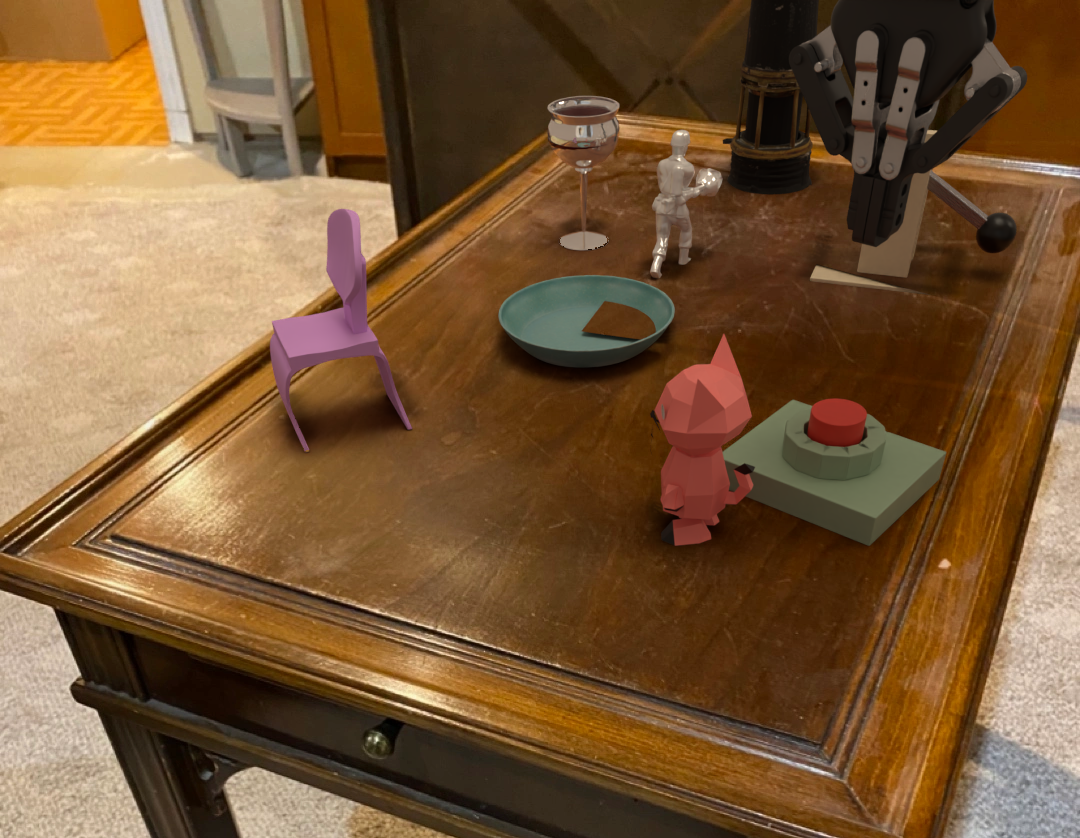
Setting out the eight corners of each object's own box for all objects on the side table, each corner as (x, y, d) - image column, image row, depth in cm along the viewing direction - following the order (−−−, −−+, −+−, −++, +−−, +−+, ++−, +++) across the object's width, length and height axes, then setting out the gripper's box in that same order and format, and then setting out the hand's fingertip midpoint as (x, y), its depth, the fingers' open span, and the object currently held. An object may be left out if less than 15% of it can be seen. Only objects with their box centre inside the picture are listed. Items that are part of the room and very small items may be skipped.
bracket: (955, 267, 98) (989, 127, 89) (945, 307, 92) (981, 161, 83) (825, 253, 101) (846, 116, 93) (808, 290, 95) (829, 148, 87)
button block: (939, 479, 73) (953, 427, 70) (869, 547, 67) (881, 493, 65) (788, 426, 78) (796, 375, 76) (713, 484, 73) (718, 432, 70)
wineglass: (596, 258, 102) (597, 121, 93) (537, 246, 104) (532, 111, 96) (629, 234, 106) (633, 101, 97) (571, 223, 108) (570, 92, 100)
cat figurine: (661, 489, 73) (671, 321, 64) (758, 507, 71) (782, 336, 62) (629, 546, 68) (636, 373, 60) (733, 567, 66) (755, 392, 58)
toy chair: (279, 409, 83) (234, 209, 72) (387, 387, 85) (359, 189, 74) (301, 461, 77) (255, 252, 66) (416, 435, 79) (390, 229, 68)
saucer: (633, 292, 96) (634, 262, 94) (701, 362, 86) (704, 330, 84) (479, 319, 93) (477, 289, 91) (531, 395, 83) (530, 363, 81)
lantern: (714, 178, 116) (742, -176, 95) (793, 170, 117) (838, -182, 96) (740, 207, 110) (776, -166, 89) (823, 198, 111) (878, -173, 90)
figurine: (633, 287, 97) (638, 145, 88) (670, 251, 102) (678, 114, 94) (682, 295, 95) (692, 151, 87) (717, 258, 101) (729, 119, 92)
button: (871, 432, 70) (877, 409, 69) (845, 455, 69) (849, 431, 67) (824, 416, 72) (828, 392, 71) (796, 437, 70) (800, 414, 69)
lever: (997, 252, 93) (1025, 222, 91) (994, 266, 91) (1024, 235, 88) (882, 161, 91) (908, 127, 89) (877, 173, 89) (904, 139, 87)
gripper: (1115, -143, 48) (1006, 246, 60) (854, -156, 54) (804, 198, 67) (1050, -121, 44) (948, 290, 56) (777, -139, 50) (739, 235, 63)
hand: (870, 240), depth 61 cm, fingers closed
